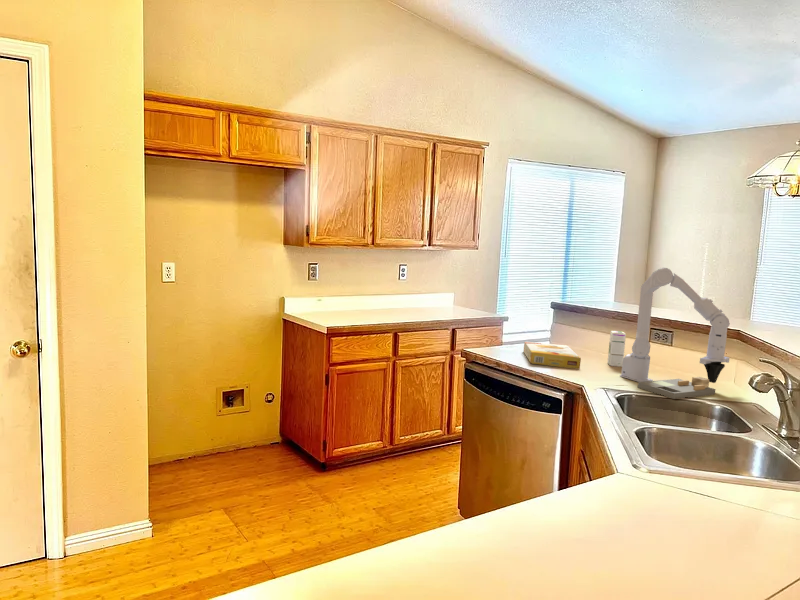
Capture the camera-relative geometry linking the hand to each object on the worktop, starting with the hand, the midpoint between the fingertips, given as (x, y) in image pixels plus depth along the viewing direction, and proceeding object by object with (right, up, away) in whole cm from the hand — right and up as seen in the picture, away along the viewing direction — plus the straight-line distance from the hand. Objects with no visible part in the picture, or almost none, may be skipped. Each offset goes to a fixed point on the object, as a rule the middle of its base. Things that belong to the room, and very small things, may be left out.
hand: (711, 382), depth 218 cm
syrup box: (-23, +2, +35) cm, 42 cm away
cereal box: (-50, +4, +38) cm, 63 cm away
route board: (-15, -3, -4) cm, 16 cm away
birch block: (-6, -1, -3) cm, 7 cm away
